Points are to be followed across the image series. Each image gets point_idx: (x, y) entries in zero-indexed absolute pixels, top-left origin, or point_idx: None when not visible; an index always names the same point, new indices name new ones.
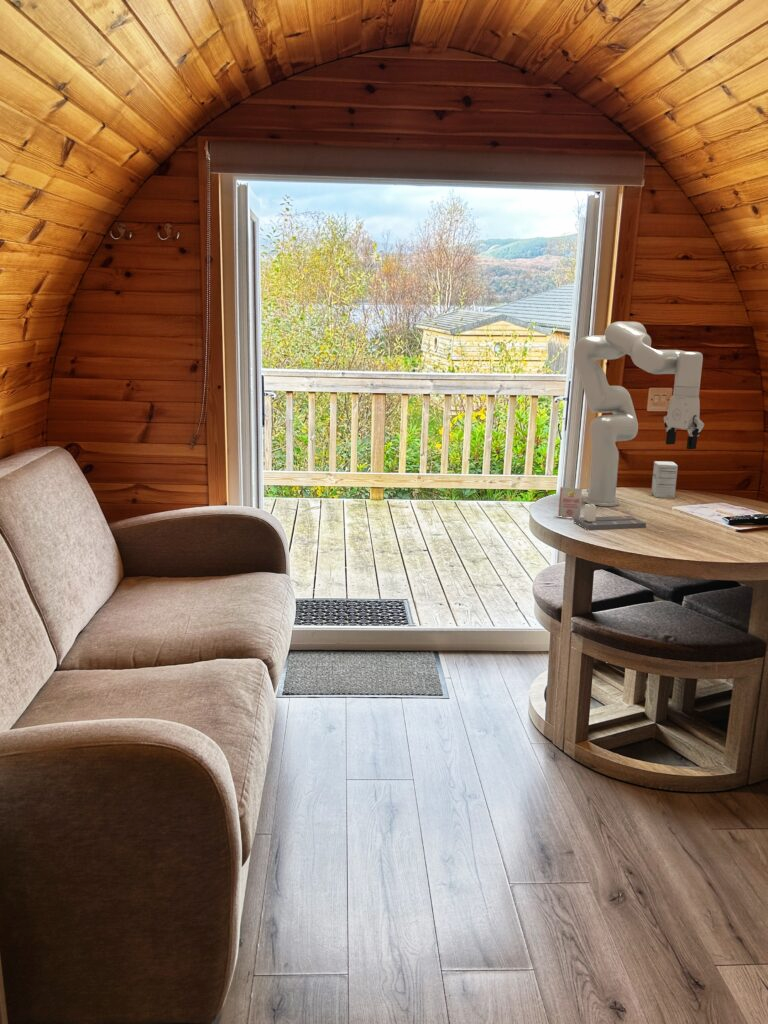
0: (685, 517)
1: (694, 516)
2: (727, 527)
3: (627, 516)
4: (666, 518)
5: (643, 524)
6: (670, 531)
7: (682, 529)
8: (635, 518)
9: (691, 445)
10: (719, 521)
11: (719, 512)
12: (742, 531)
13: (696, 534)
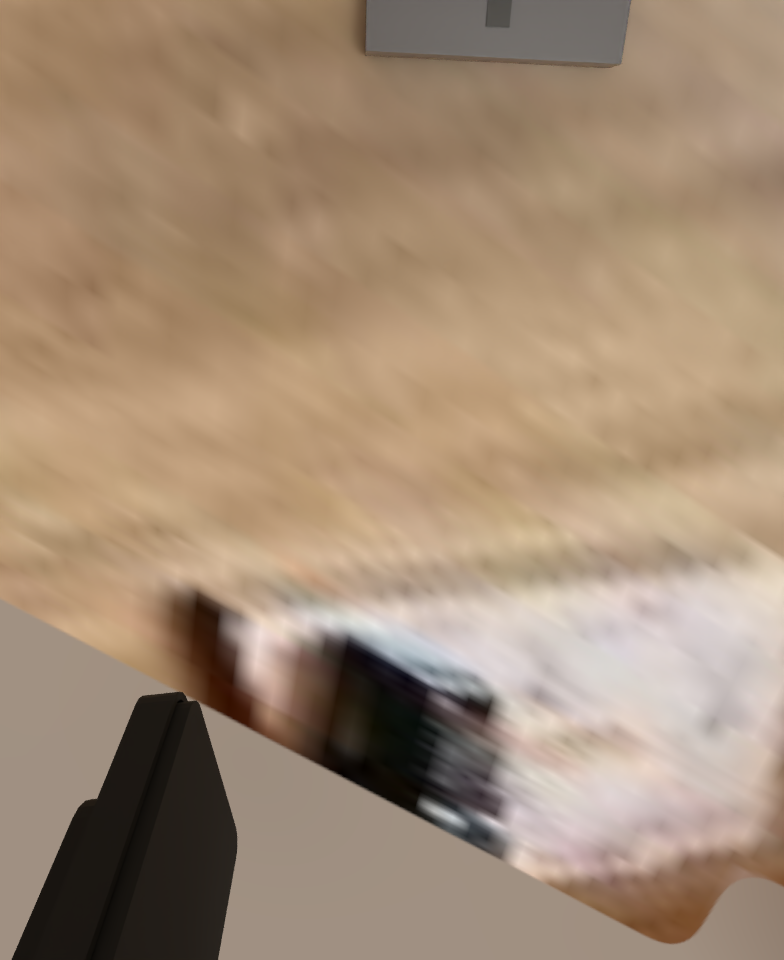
0: (553, 508)
1: (558, 569)
2: (287, 599)
3: (603, 11)
4: (567, 379)
5: (366, 24)
6: (235, 193)
7: (277, 314)
8: (523, 46)
9: (88, 811)
10: (419, 631)
11: (593, 731)
12: (194, 623)
13: (143, 330)
